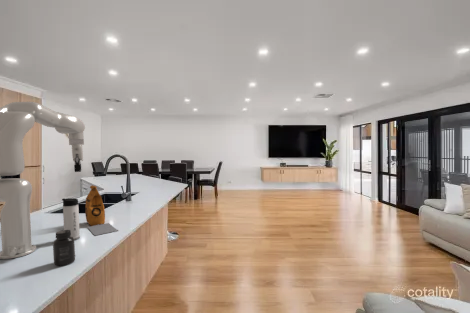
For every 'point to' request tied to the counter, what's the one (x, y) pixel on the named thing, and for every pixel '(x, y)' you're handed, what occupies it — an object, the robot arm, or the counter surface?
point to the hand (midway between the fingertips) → (78, 171)
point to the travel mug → (71, 216)
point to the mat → (102, 229)
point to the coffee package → (94, 208)
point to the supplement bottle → (63, 248)
